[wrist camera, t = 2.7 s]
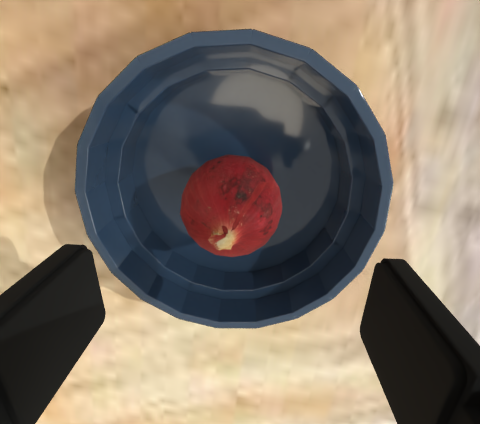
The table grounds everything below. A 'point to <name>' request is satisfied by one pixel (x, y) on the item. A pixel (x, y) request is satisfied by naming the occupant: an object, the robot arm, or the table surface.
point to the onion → (231, 205)
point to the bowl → (242, 144)
